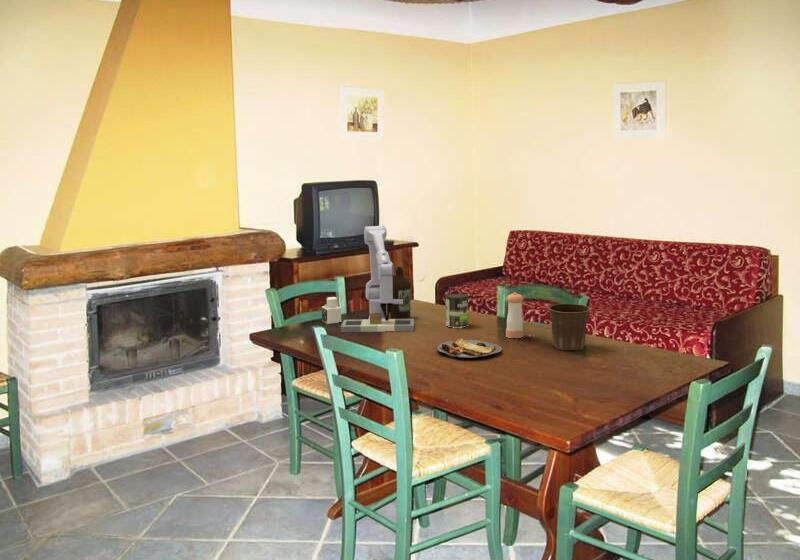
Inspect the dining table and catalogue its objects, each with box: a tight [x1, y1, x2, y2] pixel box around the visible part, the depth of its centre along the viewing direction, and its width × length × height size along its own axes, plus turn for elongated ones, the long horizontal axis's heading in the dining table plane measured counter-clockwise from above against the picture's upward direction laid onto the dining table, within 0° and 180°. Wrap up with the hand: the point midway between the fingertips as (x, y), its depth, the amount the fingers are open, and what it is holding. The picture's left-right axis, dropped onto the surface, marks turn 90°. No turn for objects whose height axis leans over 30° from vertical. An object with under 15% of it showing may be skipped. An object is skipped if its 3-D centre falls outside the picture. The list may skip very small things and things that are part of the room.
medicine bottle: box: [321, 295, 342, 325], centre depth 352 cm, size 7×7×12 cm
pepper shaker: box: [505, 291, 524, 339], centre depth 316 cm, size 7×7×19 cm
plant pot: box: [547, 303, 591, 351], centre depth 298 cm, size 16×16×16 cm
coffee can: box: [445, 292, 469, 329], centre depth 338 cm, size 10×10×14 cm
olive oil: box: [389, 265, 412, 319], centre depth 355 cm, size 11×11×25 cm
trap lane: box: [340, 318, 415, 333], centre depth 338 cm, size 14×32×2 cm, turn 89°
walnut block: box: [369, 313, 381, 324], centre depth 337 cm, size 5×5×4 cm
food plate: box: [435, 337, 502, 359], centre depth 295 cm, size 25×23×4 cm
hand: (386, 320), depth 338 cm, fingers closed
